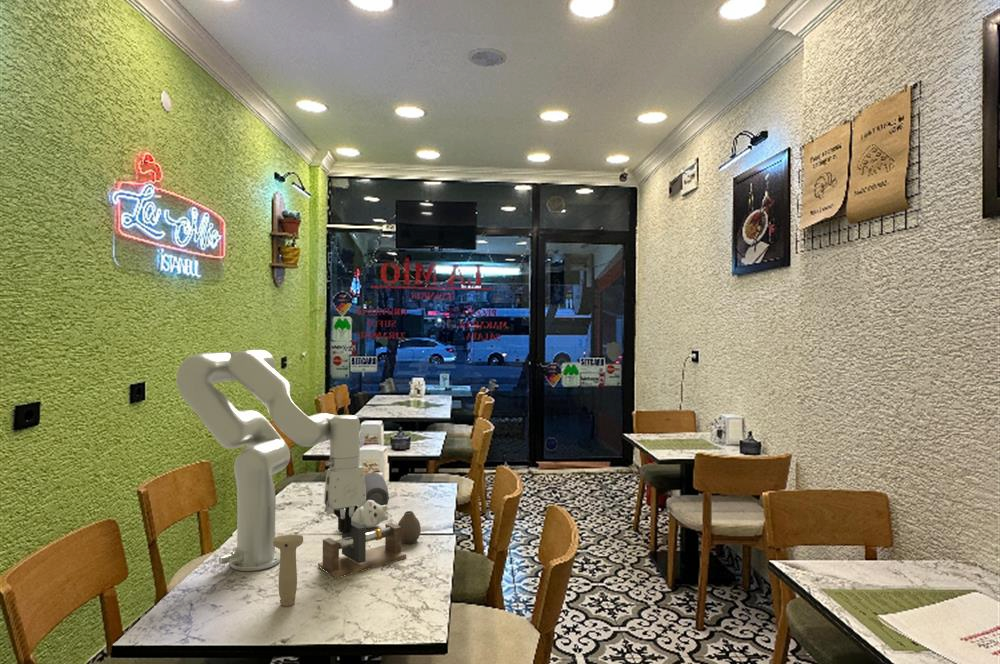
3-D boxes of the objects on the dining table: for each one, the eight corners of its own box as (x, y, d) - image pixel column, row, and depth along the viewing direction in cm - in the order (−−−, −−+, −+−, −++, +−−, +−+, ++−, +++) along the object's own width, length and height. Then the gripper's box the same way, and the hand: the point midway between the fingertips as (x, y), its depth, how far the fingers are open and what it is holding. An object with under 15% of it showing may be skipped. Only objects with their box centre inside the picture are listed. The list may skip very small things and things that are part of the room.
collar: (358, 563, 157) (359, 528, 157) (341, 553, 164) (342, 520, 164) (365, 561, 159) (365, 527, 159) (348, 551, 165) (348, 519, 165)
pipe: (335, 553, 156) (335, 541, 156) (329, 550, 158) (329, 539, 158) (394, 537, 168) (394, 527, 168) (388, 534, 170) (389, 524, 170)
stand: (336, 578, 152) (336, 547, 152) (318, 566, 160) (318, 536, 160) (406, 557, 167) (406, 529, 167) (386, 548, 174) (386, 520, 174)
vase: (415, 546, 176) (416, 516, 175) (393, 544, 177) (393, 514, 177) (423, 538, 182) (423, 509, 182) (401, 536, 184) (402, 508, 184)
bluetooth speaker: (359, 498, 225) (359, 471, 225) (384, 496, 228) (385, 470, 228) (362, 516, 203) (362, 486, 203) (390, 514, 206) (390, 485, 206)
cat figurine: (337, 499, 190) (385, 492, 192) (341, 506, 197) (387, 499, 199) (338, 530, 185) (387, 523, 187) (342, 536, 192) (390, 529, 194)
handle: (275, 600, 140) (275, 535, 140) (304, 598, 141) (304, 534, 141) (270, 609, 135) (271, 542, 135) (300, 608, 136) (301, 541, 136)
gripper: (324, 469, 151) (324, 542, 151) (377, 460, 161) (377, 529, 161) (311, 464, 157) (311, 535, 157) (363, 456, 167) (362, 522, 167)
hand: (344, 532), depth 159 cm, fingers closed
